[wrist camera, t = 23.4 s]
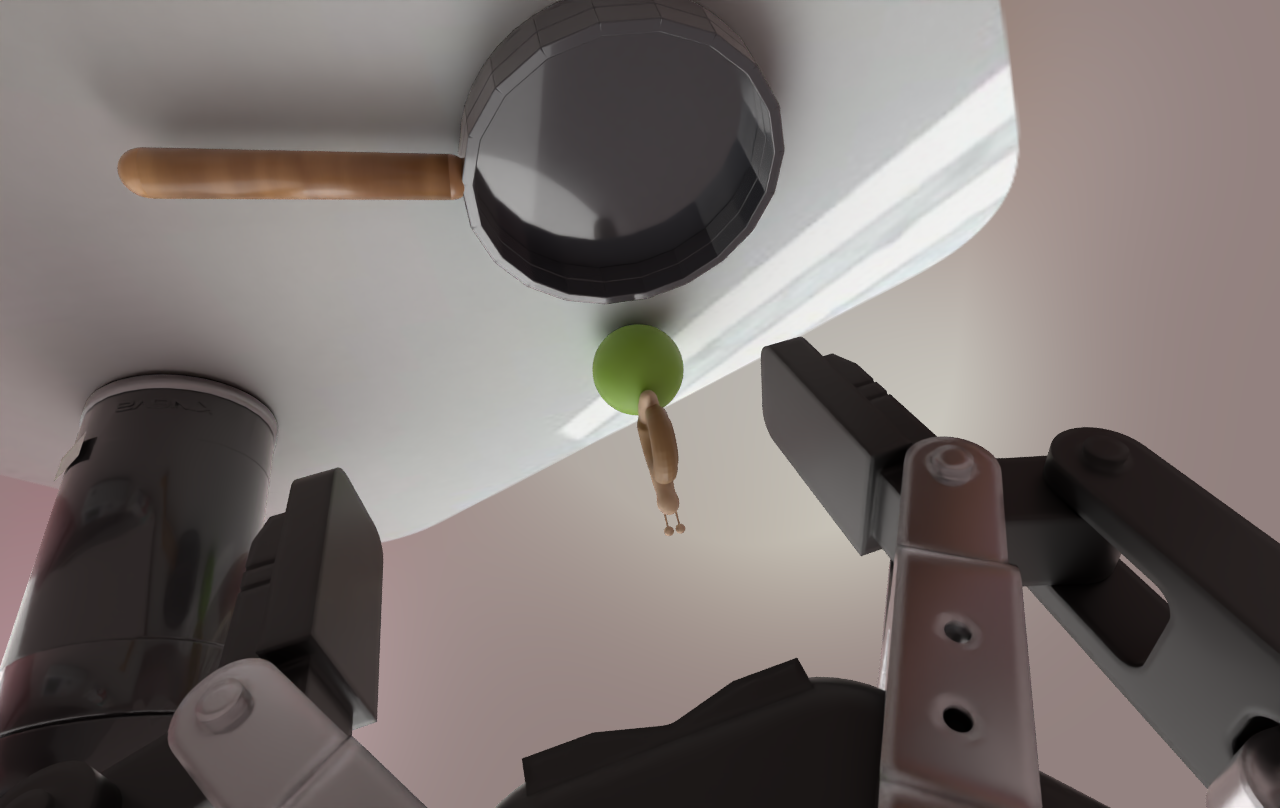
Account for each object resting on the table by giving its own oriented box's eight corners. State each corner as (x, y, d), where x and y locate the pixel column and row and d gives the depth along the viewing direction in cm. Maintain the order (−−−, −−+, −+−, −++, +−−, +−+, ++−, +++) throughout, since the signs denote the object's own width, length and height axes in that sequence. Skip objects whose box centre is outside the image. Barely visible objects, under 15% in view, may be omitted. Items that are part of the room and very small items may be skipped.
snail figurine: (593, 379, 43) (629, 546, 37) (580, 315, 38) (619, 496, 31) (672, 363, 44) (722, 525, 37) (670, 297, 38) (728, 472, 32)
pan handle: (469, 145, 27) (472, 171, 26) (471, 182, 28) (474, 209, 27) (114, 136, 24) (102, 166, 23) (136, 179, 25) (125, 208, 24)
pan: (693, 281, 38) (705, 314, 36) (443, 252, 32) (445, 289, 31) (822, 38, 27) (845, 70, 26) (486, -64, 22) (492, -31, 21)
